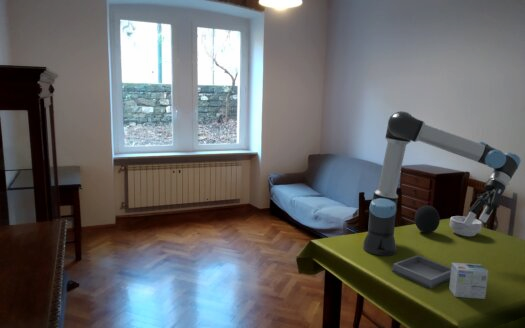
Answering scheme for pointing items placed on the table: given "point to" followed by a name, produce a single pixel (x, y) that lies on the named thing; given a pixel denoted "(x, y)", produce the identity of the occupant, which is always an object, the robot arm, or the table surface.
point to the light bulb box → (468, 280)
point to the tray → (422, 271)
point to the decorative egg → (427, 219)
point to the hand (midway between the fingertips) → (473, 223)
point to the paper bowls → (465, 226)
